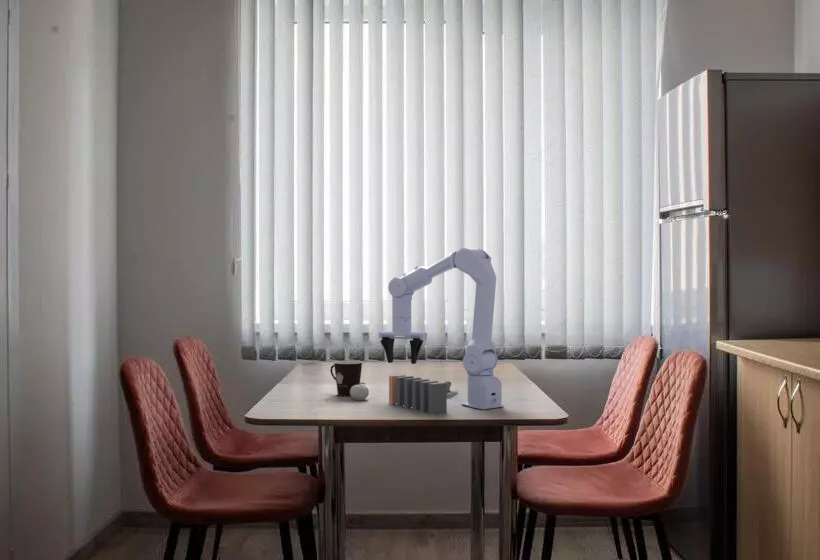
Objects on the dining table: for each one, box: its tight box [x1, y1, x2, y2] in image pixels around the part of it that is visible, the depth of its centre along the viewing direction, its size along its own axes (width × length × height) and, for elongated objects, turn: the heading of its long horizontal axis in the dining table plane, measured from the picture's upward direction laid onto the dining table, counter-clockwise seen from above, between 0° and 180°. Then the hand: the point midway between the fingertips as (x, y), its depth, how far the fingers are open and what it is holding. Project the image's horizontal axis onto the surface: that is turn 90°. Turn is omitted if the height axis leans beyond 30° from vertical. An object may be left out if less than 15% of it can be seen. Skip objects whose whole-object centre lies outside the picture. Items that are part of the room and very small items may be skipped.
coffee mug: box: [330, 360, 363, 397], centre depth 227 cm, size 12×9×10 cm
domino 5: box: [419, 380, 439, 413], centre depth 198 cm, size 2×5×8 cm, turn 125°
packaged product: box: [429, 379, 459, 399], centre depth 227 cm, size 18×5×10 cm
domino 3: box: [403, 376, 423, 409], centre depth 204 cm, size 2×5×8 cm, turn 125°
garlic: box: [350, 381, 370, 401], centre depth 217 cm, size 6×5×5 cm
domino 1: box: [388, 374, 407, 405], centre depth 210 cm, size 2×5×8 cm, turn 125°
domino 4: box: [411, 378, 431, 411], centre depth 201 cm, size 2×5×8 cm, turn 125°
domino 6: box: [428, 382, 448, 415], centre depth 195 cm, size 2×5×8 cm, turn 125°
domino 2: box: [396, 375, 415, 407], centre depth 207 cm, size 2×5×8 cm, turn 125°
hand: (402, 363), depth 220 cm, fingers open, 7 cm apart
